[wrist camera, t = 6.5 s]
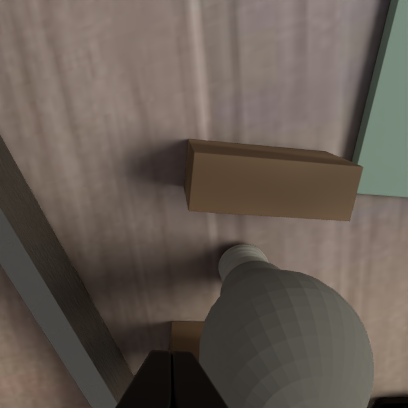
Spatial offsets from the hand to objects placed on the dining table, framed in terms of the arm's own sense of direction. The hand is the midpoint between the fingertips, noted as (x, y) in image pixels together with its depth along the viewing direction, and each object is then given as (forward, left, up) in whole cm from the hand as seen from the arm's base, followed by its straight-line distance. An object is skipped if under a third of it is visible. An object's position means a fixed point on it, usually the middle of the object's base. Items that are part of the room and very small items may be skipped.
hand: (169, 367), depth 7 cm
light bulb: (-3, -4, -11) cm, 12 cm away
